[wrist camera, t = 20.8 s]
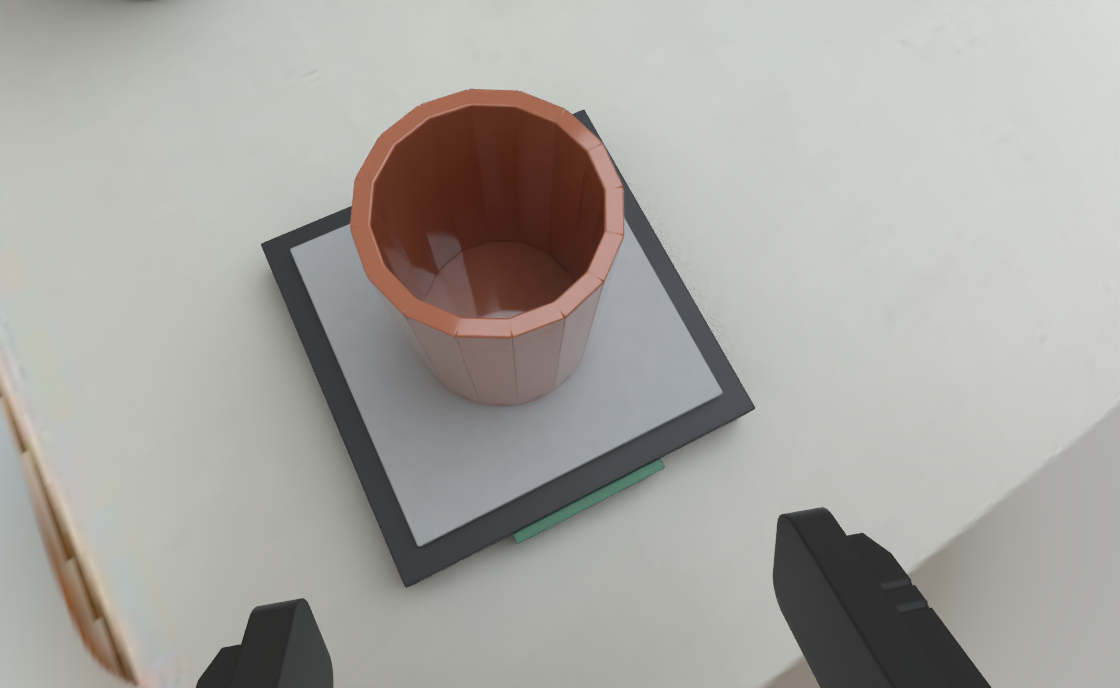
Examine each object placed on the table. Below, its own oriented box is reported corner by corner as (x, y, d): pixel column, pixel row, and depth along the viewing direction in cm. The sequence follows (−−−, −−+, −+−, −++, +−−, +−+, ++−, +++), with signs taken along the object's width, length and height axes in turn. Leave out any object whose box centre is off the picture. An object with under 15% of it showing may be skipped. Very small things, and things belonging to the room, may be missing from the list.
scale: (745, 426, 27) (767, 415, 25) (419, 594, 25) (406, 601, 23) (581, 135, 30) (585, 99, 28) (278, 263, 28) (253, 236, 26)
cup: (592, 237, 26) (622, 93, 18) (592, 408, 25) (626, 340, 16) (419, 233, 26) (363, 84, 17) (407, 405, 24) (338, 334, 16)
